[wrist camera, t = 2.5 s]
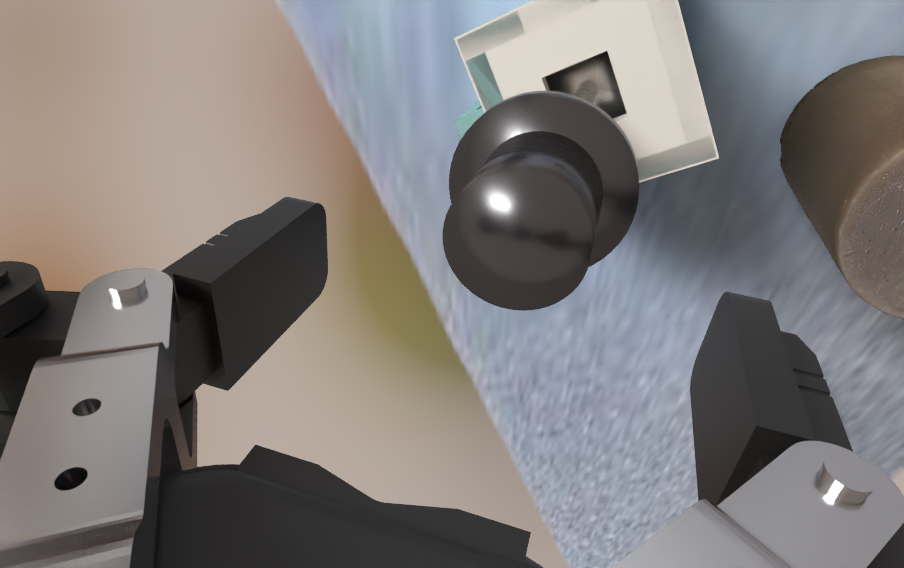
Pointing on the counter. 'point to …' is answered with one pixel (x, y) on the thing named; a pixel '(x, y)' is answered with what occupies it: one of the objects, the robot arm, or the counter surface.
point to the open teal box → (633, 61)
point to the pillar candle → (854, 174)
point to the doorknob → (542, 189)
